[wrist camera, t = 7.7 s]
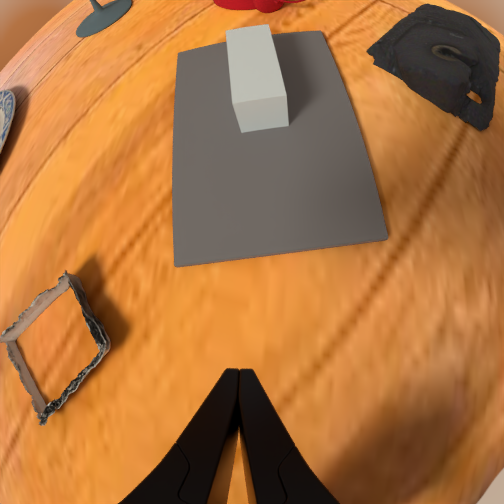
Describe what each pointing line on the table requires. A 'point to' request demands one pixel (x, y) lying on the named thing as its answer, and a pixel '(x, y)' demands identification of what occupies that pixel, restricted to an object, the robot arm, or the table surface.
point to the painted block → (256, 79)
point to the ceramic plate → (6, 114)
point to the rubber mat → (269, 162)
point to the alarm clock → (253, 4)
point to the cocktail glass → (102, 17)
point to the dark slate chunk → (443, 61)
